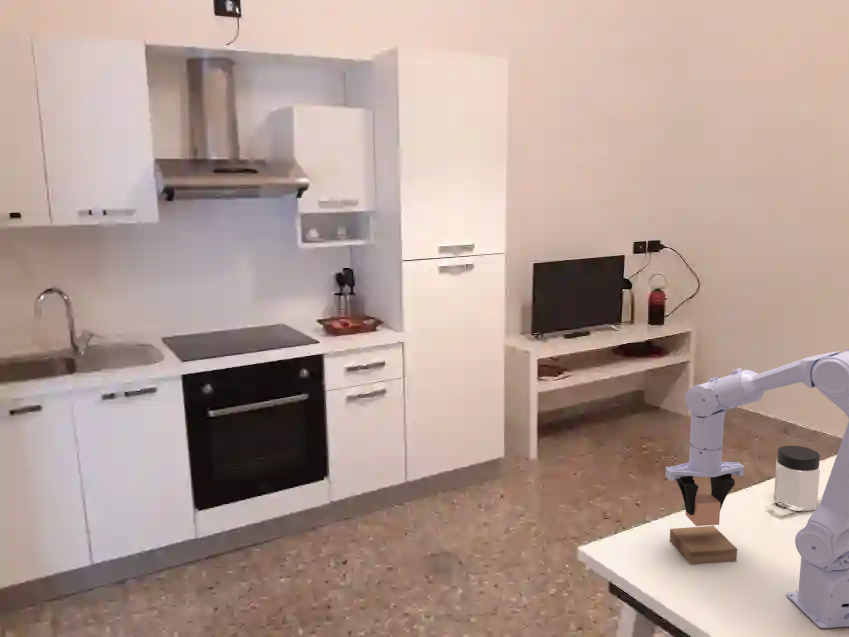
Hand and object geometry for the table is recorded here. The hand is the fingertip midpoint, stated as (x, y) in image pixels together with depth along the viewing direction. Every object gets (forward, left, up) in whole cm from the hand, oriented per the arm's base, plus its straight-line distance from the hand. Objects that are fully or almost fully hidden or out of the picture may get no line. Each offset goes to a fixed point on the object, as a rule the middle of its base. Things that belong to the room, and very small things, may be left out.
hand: (702, 511), depth 132 cm
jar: (+17, -30, -9) cm, 35 cm away
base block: (+1, -1, -8) cm, 8 cm away
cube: (0, 0, -2) cm, 2 cm away
